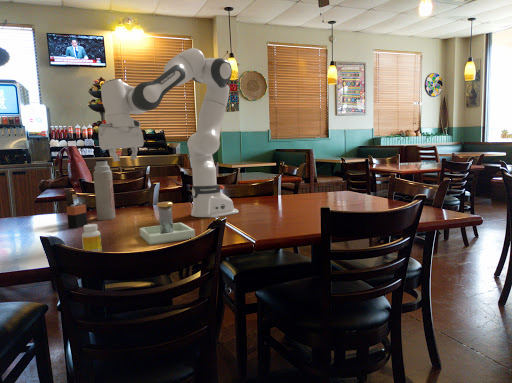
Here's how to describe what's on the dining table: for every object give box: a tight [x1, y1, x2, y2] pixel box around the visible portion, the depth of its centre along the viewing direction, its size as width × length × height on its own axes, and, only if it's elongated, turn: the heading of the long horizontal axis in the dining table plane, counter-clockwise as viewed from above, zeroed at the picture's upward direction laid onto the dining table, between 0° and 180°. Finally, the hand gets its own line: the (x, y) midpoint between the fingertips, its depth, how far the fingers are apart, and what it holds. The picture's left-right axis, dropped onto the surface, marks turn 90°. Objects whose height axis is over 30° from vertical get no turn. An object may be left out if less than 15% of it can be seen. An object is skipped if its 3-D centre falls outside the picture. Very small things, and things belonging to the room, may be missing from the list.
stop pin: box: [156, 201, 174, 234], centre depth 138 cm, size 6×6×12 cm
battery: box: [66, 202, 88, 229], centre depth 163 cm, size 4×7×10 cm, turn 160°
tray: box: [139, 222, 196, 246], centre depth 139 cm, size 16×16×3 cm
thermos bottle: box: [92, 158, 116, 221], centre depth 178 cm, size 8×8×28 cm
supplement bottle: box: [81, 223, 103, 252], centre depth 118 cm, size 5×5×10 cm
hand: (125, 160), depth 144 cm, fingers open, 8 cm apart
